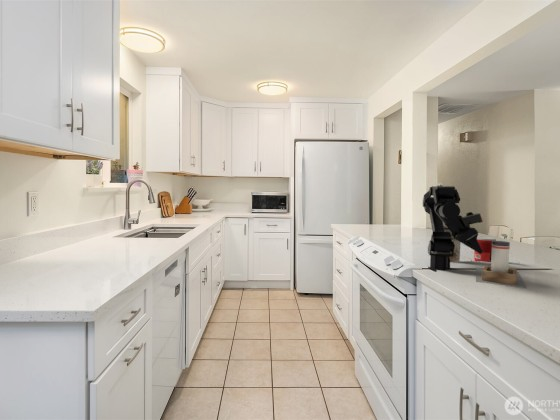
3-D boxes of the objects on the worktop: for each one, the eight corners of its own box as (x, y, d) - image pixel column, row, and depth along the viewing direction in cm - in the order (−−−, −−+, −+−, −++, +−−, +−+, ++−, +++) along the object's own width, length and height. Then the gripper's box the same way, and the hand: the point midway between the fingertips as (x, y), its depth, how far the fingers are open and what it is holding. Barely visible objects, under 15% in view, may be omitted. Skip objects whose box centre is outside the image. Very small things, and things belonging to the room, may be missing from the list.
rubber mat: (527, 290, 99) (527, 288, 99) (475, 283, 107) (475, 281, 107) (518, 274, 120) (518, 272, 120) (475, 269, 127) (475, 267, 127)
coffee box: (436, 262, 140) (437, 227, 139) (437, 259, 145) (438, 225, 144) (459, 264, 135) (460, 228, 134) (460, 262, 140) (461, 226, 139)
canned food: (494, 264, 136) (495, 239, 135) (473, 262, 140) (474, 238, 140) (495, 261, 142) (496, 237, 141) (474, 259, 146) (475, 236, 146)
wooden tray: (481, 280, 108) (482, 270, 108) (484, 274, 116) (485, 265, 115) (516, 285, 102) (516, 275, 102) (516, 279, 110) (517, 269, 110)
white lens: (498, 280, 106) (500, 242, 106) (486, 276, 111) (488, 240, 111) (511, 280, 107) (513, 242, 106) (499, 276, 112) (501, 240, 111)
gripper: (475, 204, 106) (507, 241, 103) (464, 204, 124) (491, 236, 121) (446, 223, 110) (477, 260, 107) (439, 221, 127) (465, 252, 124)
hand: (478, 251), depth 114 cm, fingers open, 9 cm apart
